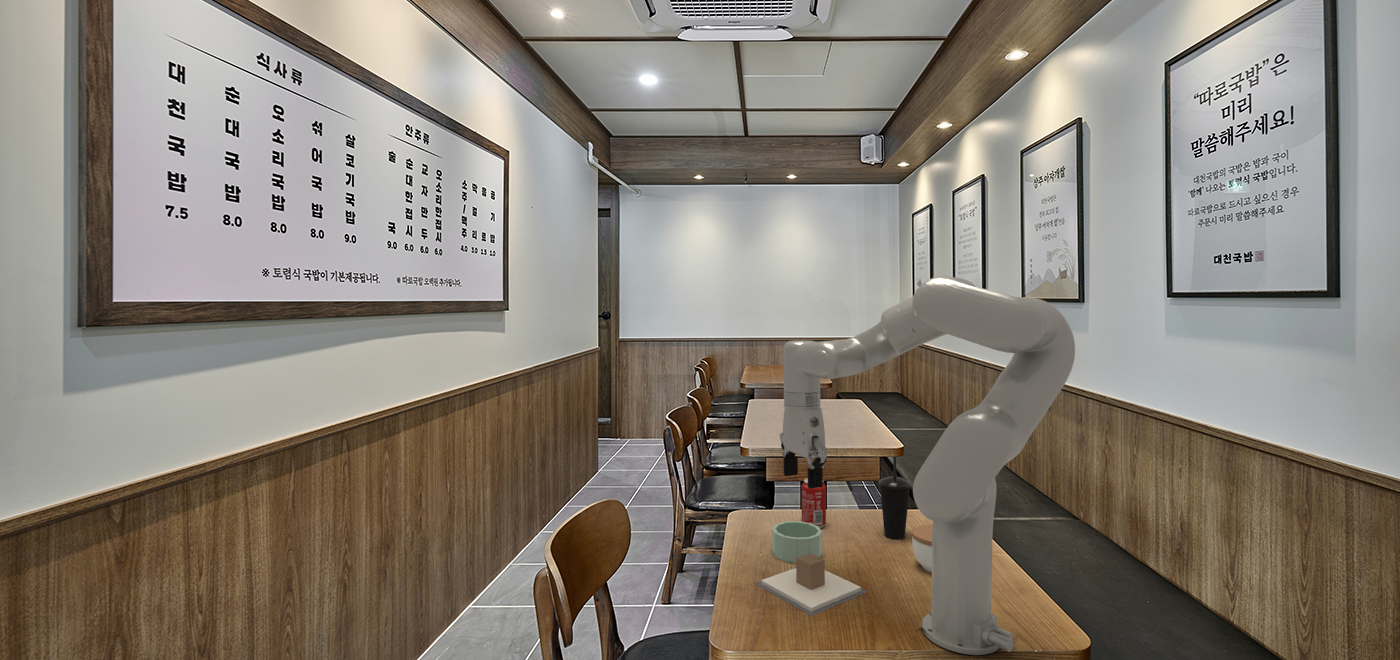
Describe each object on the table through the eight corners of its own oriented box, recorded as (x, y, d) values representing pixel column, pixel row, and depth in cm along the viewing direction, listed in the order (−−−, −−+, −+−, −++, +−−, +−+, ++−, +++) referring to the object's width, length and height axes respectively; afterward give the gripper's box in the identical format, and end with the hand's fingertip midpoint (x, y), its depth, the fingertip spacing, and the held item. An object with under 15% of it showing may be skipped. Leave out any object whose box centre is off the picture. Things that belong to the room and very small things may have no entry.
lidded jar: (975, 575, 126) (975, 532, 125) (932, 582, 123) (932, 537, 122) (941, 555, 136) (941, 515, 136) (901, 561, 133) (901, 520, 133)
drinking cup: (872, 532, 150) (872, 454, 150) (898, 529, 153) (898, 452, 152) (890, 543, 143) (891, 461, 142) (917, 539, 145) (917, 459, 145)
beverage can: (824, 521, 158) (824, 477, 158) (827, 530, 152) (827, 484, 151) (800, 521, 159) (800, 477, 158) (802, 529, 152) (802, 483, 152)
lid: (860, 591, 118) (861, 562, 117) (811, 612, 110) (811, 581, 109) (809, 566, 129) (809, 540, 129) (761, 583, 121) (761, 556, 121)
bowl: (831, 557, 135) (831, 531, 135) (796, 569, 129) (796, 542, 129) (797, 542, 144) (797, 518, 144) (763, 553, 138) (763, 527, 138)
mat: (868, 594, 117) (868, 591, 117) (811, 619, 108) (811, 615, 108) (809, 566, 130) (809, 563, 130) (754, 586, 121) (754, 583, 121)
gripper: (841, 404, 116) (841, 490, 117) (796, 393, 132) (796, 469, 133) (808, 406, 114) (809, 495, 114) (766, 395, 130) (767, 472, 130)
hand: (802, 481), depth 124 cm, fingers open, 9 cm apart
